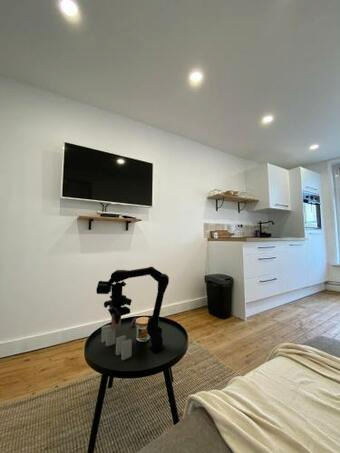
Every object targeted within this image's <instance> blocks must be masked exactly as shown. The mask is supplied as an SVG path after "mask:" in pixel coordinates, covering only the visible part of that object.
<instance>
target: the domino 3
mask: <svg viewBox="0 0 340 453" xmlns="http://www.w3.org/2000/svg"><path fill="white" fill-rule="evenodd" d="M110 320H111V321H110V322H111V323H110V325H111V329H112V330H115V329H116V330H117V329H121V327H122V316H121V317H120V320H119V323H118V324H116V323H115V319H114V316H113V314H112V317H111V319H110ZM116 330H115V331H116Z"/></svg>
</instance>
